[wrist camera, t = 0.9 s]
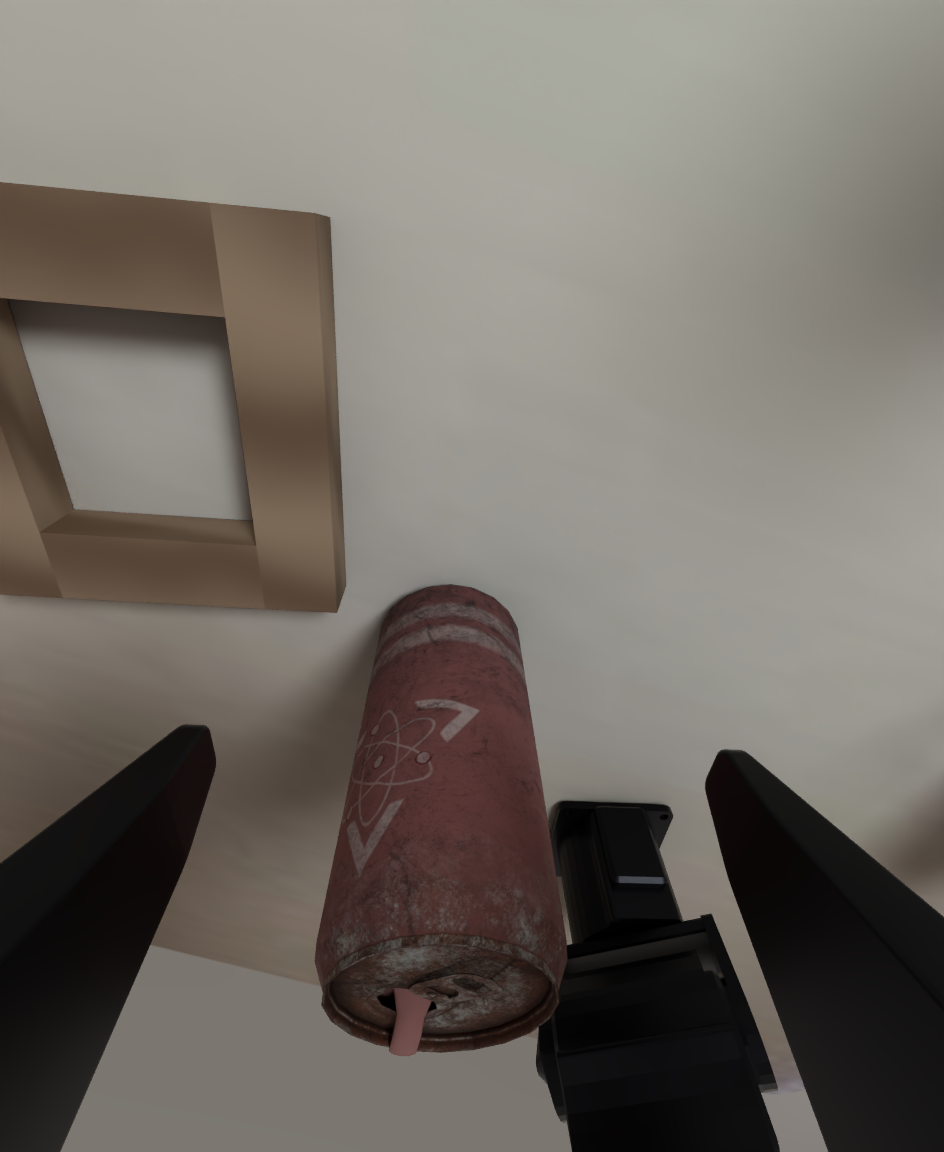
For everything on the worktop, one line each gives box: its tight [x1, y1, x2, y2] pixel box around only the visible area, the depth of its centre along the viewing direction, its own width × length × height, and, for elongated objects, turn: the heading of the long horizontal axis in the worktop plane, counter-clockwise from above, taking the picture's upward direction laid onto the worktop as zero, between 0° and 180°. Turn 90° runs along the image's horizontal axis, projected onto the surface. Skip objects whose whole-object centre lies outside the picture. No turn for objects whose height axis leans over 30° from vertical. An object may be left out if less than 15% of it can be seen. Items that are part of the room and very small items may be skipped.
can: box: [315, 584, 568, 1056], centre depth 18 cm, size 6×6×14 cm
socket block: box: [0, 182, 346, 613], centre depth 18 cm, size 13×13×2 cm
